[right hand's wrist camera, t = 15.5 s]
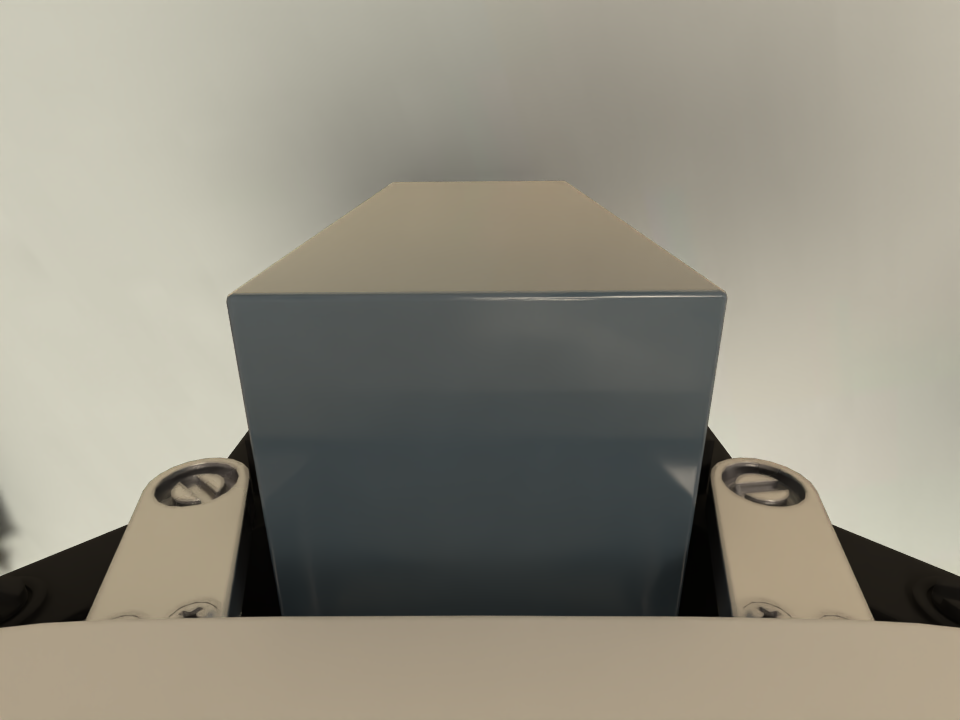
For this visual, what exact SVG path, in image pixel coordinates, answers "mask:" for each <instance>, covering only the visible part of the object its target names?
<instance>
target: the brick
mask: <svg viewBox="0 0 960 720" xmlns="http://www.w3.org/2000/svg"><path fill="white" fill-rule="evenodd" d="M726 303H727V295H726V292H725V291H724V290H723V289H721V288H720V287H718V286H717V285H715V284H714V283H712V282H711V281H710V280H708V279H707V278H705V277H704V276H702V275H701V274H699V273H698V272H697V271H695V270H694V269H692V268H691V267H689V266H688V265H686V264H685V263H683V262H682V261H681V260H679V259H678V258H676V257H675V256H673V255H672V254H670V253H669V252H668V251H666V250H665V249H663V248H662V247H660V246H659V245H657V244H656V243H654V242H653V241H652V240H650V239H649V238H647V237H646V236H644V235H643V234H641V233H640V232H639V231H637V230H636V229H634V228H633V227H631V226H630V225H628V224H627V223H625V222H624V221H623V220H621V219H620V218H618V217H617V216H615V215H614V214H612V213H611V212H610V211H608V210H607V209H605V208H604V207H602V206H601V205H599V204H598V203H596V202H595V201H594V200H592V199H591V198H589V197H588V196H586V195H585V194H583V193H582V192H581V191H579V190H578V189H576V188H575V187H573V186H572V185H570V184H569V183H568V182H566V181H463V182H393V183H391V184H389V185H388V186H386V187H385V188H384V189H382V190H381V191H379V192H378V193H376V194H375V195H373V196H372V197H370V198H369V199H368V200H366V201H365V202H363V203H362V204H360V205H359V206H357V207H356V208H354V209H353V210H351V211H350V212H349V213H347V214H346V215H344V216H343V217H341V218H340V219H338V220H337V221H335V222H334V223H332V224H331V225H330V226H328V227H327V228H325V229H324V230H322V231H321V232H319V233H318V234H316V235H315V236H314V237H312V238H311V239H309V240H308V241H306V242H305V243H303V244H302V245H300V246H299V247H297V248H296V249H295V250H293V251H292V252H290V253H289V254H287V255H286V256H284V257H283V258H281V259H280V260H278V261H277V262H276V263H274V264H273V265H271V266H270V267H268V268H267V269H265V270H264V271H262V272H261V273H259V274H258V275H257V276H255V277H254V278H252V279H251V280H249V281H248V282H246V283H245V284H243V285H242V286H241V287H239V288H238V289H236V290H235V291H233V292H232V293H230V294H229V295H228V297H227V308H228V314H229V319H230V325H231V331H232V337H233V342H234V348H235V354H236V360H237V365H238V371H239V377H240V383H241V389H242V394H243V400H244V406H245V412H246V417H247V423H248V429H249V435H250V440H251V446H252V452H253V458H254V463H255V469H256V475H257V481H258V486H259V492H260V498H261V504H262V509H263V515H264V521H265V527H266V533H267V538H268V544H269V550H270V556H271V561H272V567H273V573H274V579H275V584H276V590H277V596H278V602H279V607H280V613H281V617H305V616H656V617H678V615H679V608H680V602H681V595H682V589H683V582H684V576H685V569H686V563H687V556H688V550H689V543H690V537H691V530H692V524H693V517H694V511H695V504H696V498H697V491H698V485H699V478H700V472H701V465H702V459H703V452H704V446H705V439H706V433H707V426H708V420H709V413H710V407H711V400H712V394H713V387H714V381H715V374H716V368H717V361H718V355H719V348H720V342H721V335H722V329H723V322H724V316H725V309H726Z"/></svg>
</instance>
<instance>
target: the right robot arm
mask: <svg viewBox="0 0 960 720" xmlns="http://www.w3.org/2000/svg"><path fill="white" fill-rule="evenodd" d="M0 720H960V576H957V575H955V574H952V573H950V572H947V571H945V570H943V569H940V568H938V567H935V566H933V565H930V564H928V563H925V562H923V561H920V560H918V559H915V558H913V557H911V556H908V555H906V554H903V553H901V552H898V551H896V550H893V549H891V548H888V547H886V546H883V545H881V544H879V543H876V542H874V541H871V540H869V539H866V538H864V537H861V536H859V535H856V534H854V533H852V532H849V531H847V530H844V529H842V528H839V527H837V526H834V525H832V524H831V521H830V519H829V517H828V515H827V512H826V510H825V508H824V506H823V503H822V501H821V499H820V497H819V494H818V492H817V490H816V489H815V488H814V486H813V485H812V483H811V482H810V481H809V480H807V479H806V478H805V477H803V476H802V475H801V474H799V473H797V472H795V471H793V470H791V469H790V468H788V467H785V466H782V465H779V464H777V463H774V462H771V461H766V460H761V459H755V458H733V459H732V458H731V456H730V455H729V454H728V452H727V451H726V450H725V448H724V447H723V446H722V444H721V443H720V442H719V440H718V439H717V438H716V436H715V435H714V434H713V432H712V431H711V430H710V428H709V427H708V426H707V433H706V439H705V446H704V452H703V459H702V465H701V472H700V478H699V485H698V491H697V498H696V504H695V511H694V517H693V524H692V530H691V537H690V543H689V550H688V556H687V563H686V569H685V576H684V582H683V589H682V595H681V602H680V608H679V615H678V617H656V616H305V617H281V613H280V607H279V602H278V596H277V590H276V584H275V579H274V573H273V567H272V561H271V556H270V550H269V544H268V538H267V533H266V527H265V521H264V515H263V509H262V504H261V498H260V492H259V486H258V481H257V475H256V469H255V463H254V458H253V452H252V446H251V440H250V435H249V430H248V432H247V433H246V434H245V436H244V437H243V438H242V440H241V441H240V442H239V444H238V445H237V446H236V448H235V449H234V450H233V452H232V453H231V454H230V456H229V457H228V458H205V459H199V460H194V461H189V462H186V463H183V464H181V465H178V466H175V467H172V468H170V469H169V470H167V471H165V472H163V473H161V474H159V475H158V476H157V477H155V478H154V479H153V480H151V481H150V482H149V483H148V485H147V486H146V488H145V489H144V490H143V492H142V494H141V497H140V499H139V501H138V503H137V506H136V508H135V510H134V512H133V515H132V517H131V519H130V521H129V524H128V525H125V526H123V527H120V528H118V529H116V530H113V531H111V532H108V533H106V534H103V535H101V536H98V537H96V538H93V539H91V540H88V541H86V542H84V543H81V544H79V545H76V546H74V547H71V548H69V549H66V550H64V551H61V552H59V553H57V554H54V555H52V556H49V557H47V558H44V559H42V560H39V561H37V562H34V563H32V564H29V565H27V566H25V567H22V568H20V569H17V570H15V571H12V572H10V573H7V574H5V575H2V576H0Z"/></svg>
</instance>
